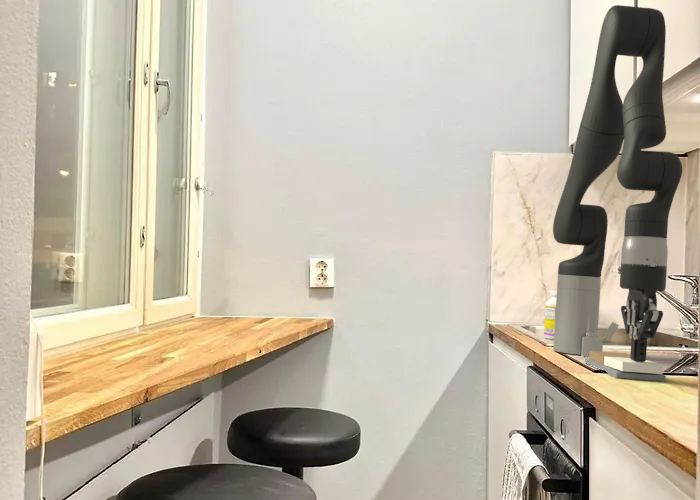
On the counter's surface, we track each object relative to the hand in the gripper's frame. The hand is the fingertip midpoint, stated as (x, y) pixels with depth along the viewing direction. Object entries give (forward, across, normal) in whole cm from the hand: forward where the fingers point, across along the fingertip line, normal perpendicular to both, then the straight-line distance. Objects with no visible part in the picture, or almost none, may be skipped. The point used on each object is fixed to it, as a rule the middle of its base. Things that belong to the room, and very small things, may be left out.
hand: (638, 360), depth 121 cm
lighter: (+3, -25, +2) cm, 26 cm away
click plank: (+2, -2, 0) cm, 3 cm away
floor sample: (+3, -7, 0) cm, 8 cm away
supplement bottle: (+3, -60, +3) cm, 61 cm away
